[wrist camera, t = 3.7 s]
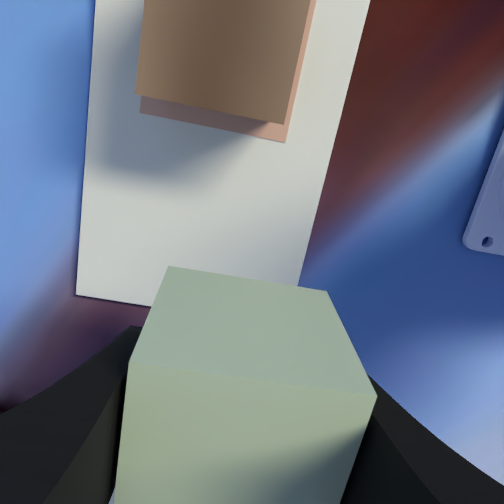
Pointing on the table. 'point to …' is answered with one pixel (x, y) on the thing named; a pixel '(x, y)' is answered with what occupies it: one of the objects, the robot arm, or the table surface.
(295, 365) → the sage block
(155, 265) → the build mat
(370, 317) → the table surface
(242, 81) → the walnut block
